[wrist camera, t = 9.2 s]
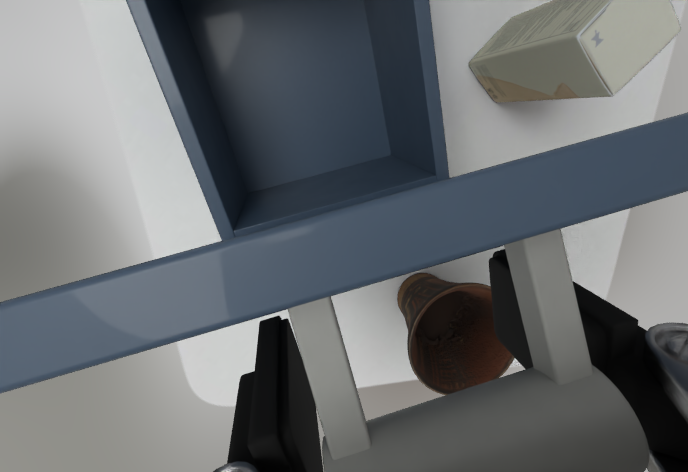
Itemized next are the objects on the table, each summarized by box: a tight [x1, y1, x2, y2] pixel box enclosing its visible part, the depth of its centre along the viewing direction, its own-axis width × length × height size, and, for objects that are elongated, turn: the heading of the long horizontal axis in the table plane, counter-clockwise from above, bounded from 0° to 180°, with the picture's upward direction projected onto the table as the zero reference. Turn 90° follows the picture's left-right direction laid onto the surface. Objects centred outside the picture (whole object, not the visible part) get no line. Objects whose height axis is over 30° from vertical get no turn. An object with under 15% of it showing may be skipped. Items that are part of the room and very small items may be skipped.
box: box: [469, 0, 681, 102], centre depth 23 cm, size 5×4×11 cm
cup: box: [397, 273, 515, 395], centre depth 30 cm, size 9×9×10 cm
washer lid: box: [0, 113, 688, 472], centre depth 12 cm, size 16×14×6 cm
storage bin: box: [126, 0, 449, 241], centre depth 22 cm, size 16×14×10 cm
